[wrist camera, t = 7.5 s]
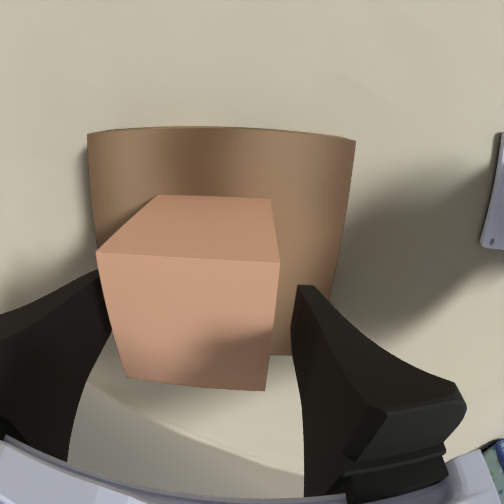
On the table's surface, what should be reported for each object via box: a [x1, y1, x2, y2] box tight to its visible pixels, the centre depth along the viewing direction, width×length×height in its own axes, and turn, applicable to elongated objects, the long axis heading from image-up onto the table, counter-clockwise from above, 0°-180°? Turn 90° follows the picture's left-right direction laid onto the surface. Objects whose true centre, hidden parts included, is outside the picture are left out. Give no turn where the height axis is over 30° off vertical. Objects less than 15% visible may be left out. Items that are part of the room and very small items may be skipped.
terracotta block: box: [95, 195, 280, 391], centre depth 11 cm, size 5×5×6 cm
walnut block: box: [87, 126, 356, 355], centre depth 16 cm, size 12×12×3 cm
